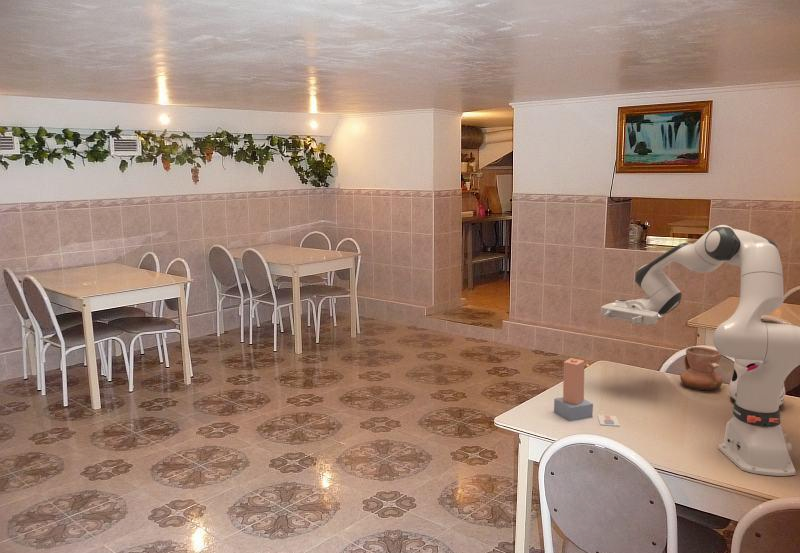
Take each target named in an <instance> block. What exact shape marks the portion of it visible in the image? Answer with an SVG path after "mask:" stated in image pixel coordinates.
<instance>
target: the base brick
mask: <svg viewBox="0 0 800 553" xmlns="http://www.w3.org/2000/svg"><path fill="white" fill-rule="evenodd" d="M553 402H554V404H553V406H554V407H553V412H554V413H555V414H557V415H559V416H560V417H562V418H564V419H566V420H567V421H569V422H574V421H579V420H585V419H589V418H593V416H594V415H593V411H594V409H593V408H594V403H592V402H590V401H588V400H587V399H585V398H584V400H583V401H582V402H580V403H579V404H577V405H575V404H571V403H568V402H564V401H563V396H561V397H556V398H554V399H553Z"/></svg>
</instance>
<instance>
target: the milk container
mask: <svg viewBox="0 0 800 553" xmlns="http://www.w3.org/2000/svg"><path fill="white" fill-rule="evenodd" d="M756 361H758V360H745V359H736V358H734V362H733V373H732V377H731V380H730V381H729V387H728V390H729V395H730V398H731V399H732V400H733V401H734V402H735V401H736V394H737V383H738V379H739V378H740V376H741V375H742V374H744V373H745V372H747V369H748V368H749V367H750V366H753V365H755V362H756ZM759 362H760V363H762V362H763V361H759ZM785 397H786V387H785V382H784V383H783V386H782V390H781V395H780V401H779V407H780V406H782V404H784V401H785Z"/></svg>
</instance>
